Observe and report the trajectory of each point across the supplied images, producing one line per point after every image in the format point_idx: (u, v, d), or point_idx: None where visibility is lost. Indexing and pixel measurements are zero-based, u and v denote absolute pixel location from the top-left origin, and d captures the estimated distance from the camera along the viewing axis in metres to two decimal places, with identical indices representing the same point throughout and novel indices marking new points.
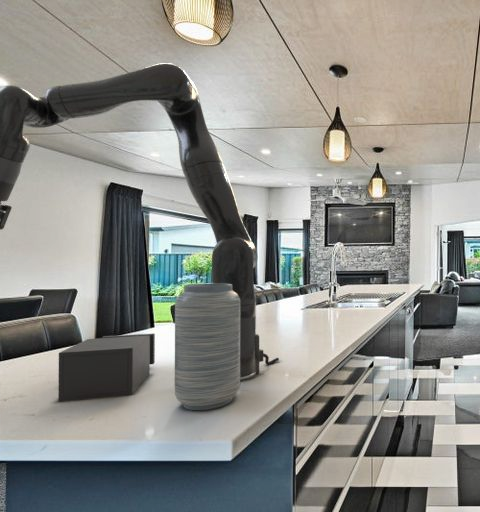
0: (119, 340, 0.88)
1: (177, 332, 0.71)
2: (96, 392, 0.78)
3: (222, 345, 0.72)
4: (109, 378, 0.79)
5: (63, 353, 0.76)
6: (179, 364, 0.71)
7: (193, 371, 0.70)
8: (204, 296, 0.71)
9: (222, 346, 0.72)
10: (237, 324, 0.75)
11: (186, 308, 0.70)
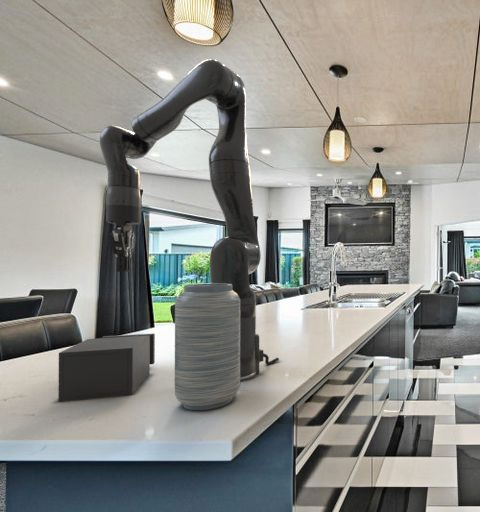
0: (119, 340, 0.88)
1: (177, 332, 0.71)
2: (96, 392, 0.78)
3: (222, 345, 0.72)
4: (109, 378, 0.79)
5: (63, 353, 0.76)
6: (179, 364, 0.71)
7: (193, 371, 0.70)
8: (204, 296, 0.71)
9: (222, 346, 0.72)
10: (237, 324, 0.75)
11: (186, 308, 0.70)
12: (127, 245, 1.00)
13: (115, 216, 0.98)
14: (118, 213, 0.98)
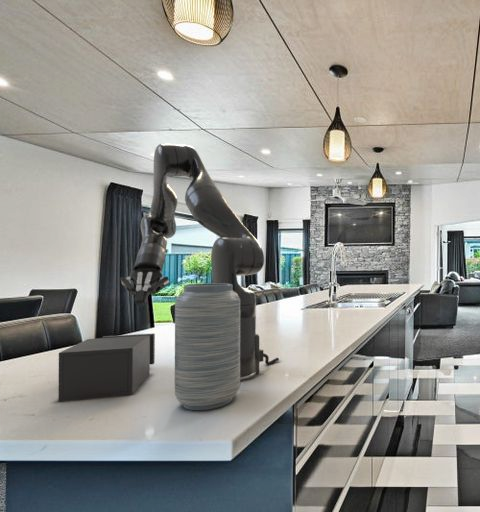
0: (119, 340, 0.88)
1: (177, 332, 0.71)
2: (96, 392, 0.78)
3: (222, 345, 0.72)
4: (109, 378, 0.79)
5: (63, 353, 0.76)
6: (179, 364, 0.71)
7: (193, 371, 0.70)
8: (204, 296, 0.71)
9: (222, 346, 0.72)
10: (237, 324, 0.75)
11: (186, 308, 0.70)
12: None
13: None
14: None
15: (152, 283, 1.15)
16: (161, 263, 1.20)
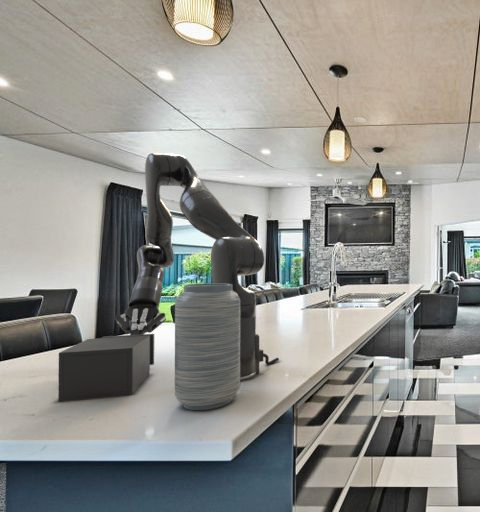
0: (119, 340, 0.88)
1: (177, 332, 0.71)
2: (96, 392, 0.78)
3: (222, 345, 0.72)
4: (109, 378, 0.79)
5: (63, 353, 0.76)
6: (179, 364, 0.71)
7: (193, 371, 0.70)
8: (204, 296, 0.71)
9: (222, 346, 0.72)
10: (237, 324, 0.75)
11: (186, 308, 0.70)
12: None
13: None
14: None
15: (148, 320, 1.09)
16: (158, 298, 1.14)
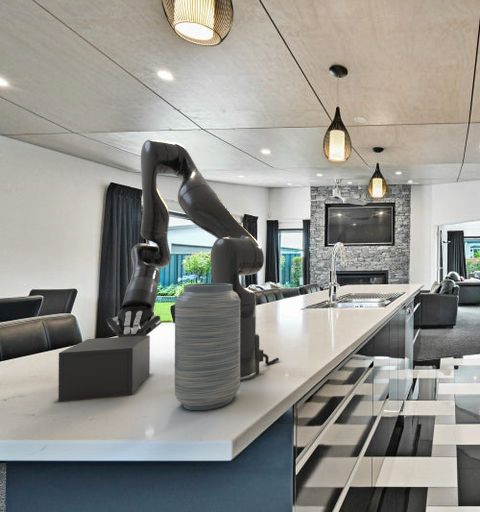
0: (119, 340, 0.88)
1: (177, 332, 0.71)
2: (96, 392, 0.78)
3: (222, 345, 0.72)
4: (109, 378, 0.79)
5: (63, 353, 0.76)
6: (179, 364, 0.71)
7: (193, 371, 0.70)
8: (204, 296, 0.71)
9: (222, 346, 0.72)
10: (237, 324, 0.75)
11: (186, 308, 0.70)
12: None
13: None
14: None
15: (142, 324, 1.03)
16: (153, 300, 1.08)
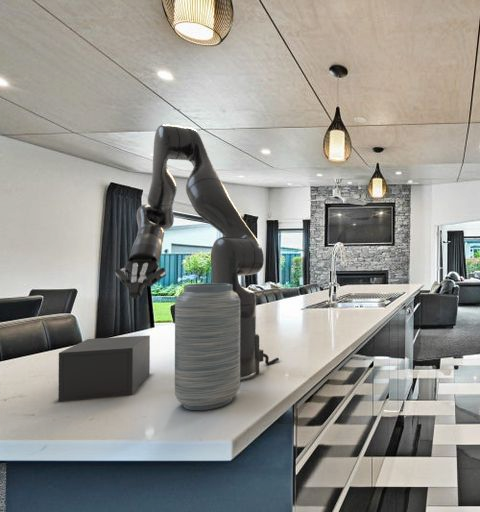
0: (119, 340, 0.88)
1: (177, 332, 0.71)
2: (96, 392, 0.78)
3: (222, 345, 0.72)
4: (109, 378, 0.79)
5: (63, 353, 0.76)
6: (179, 364, 0.71)
7: (193, 371, 0.70)
8: (204, 296, 0.71)
9: (222, 346, 0.72)
10: (237, 324, 0.75)
11: (186, 308, 0.70)
12: None
13: None
14: None
15: (148, 275, 1.09)
16: (158, 254, 1.14)
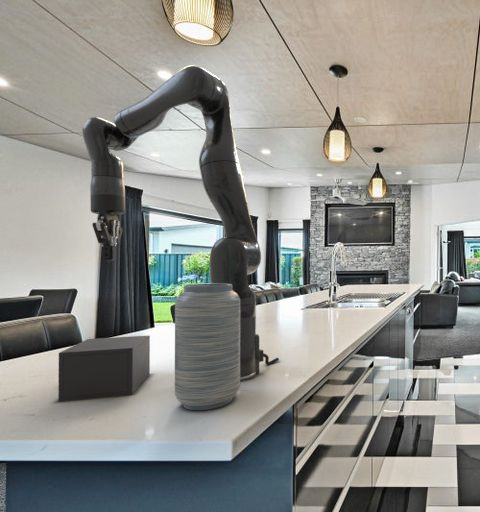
0: (119, 340, 0.88)
1: (177, 332, 0.71)
2: (96, 392, 0.78)
3: (222, 345, 0.72)
4: (109, 378, 0.79)
5: (63, 353, 0.76)
6: (179, 364, 0.71)
7: (193, 371, 0.70)
8: (204, 296, 0.71)
9: (222, 346, 0.72)
10: (237, 324, 0.75)
11: (186, 308, 0.70)
12: (112, 234, 1.01)
13: (98, 205, 0.99)
14: (101, 202, 0.99)
15: None
16: None
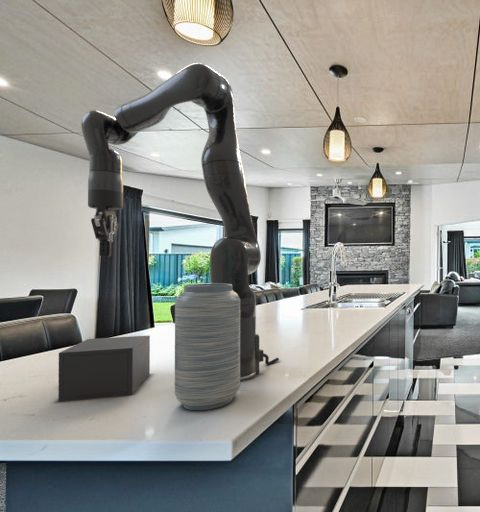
0: (119, 340, 0.88)
1: (177, 332, 0.71)
2: (96, 392, 0.78)
3: (222, 345, 0.72)
4: (109, 378, 0.79)
5: (63, 353, 0.76)
6: (179, 364, 0.71)
7: (193, 371, 0.70)
8: (204, 296, 0.71)
9: (222, 346, 0.72)
10: (237, 324, 0.75)
11: (186, 308, 0.70)
12: (109, 230, 1.00)
13: (96, 200, 0.98)
14: (99, 198, 0.98)
15: None
16: None
